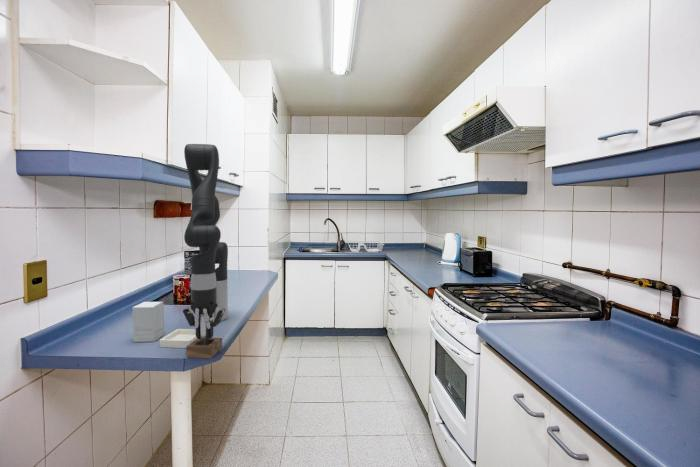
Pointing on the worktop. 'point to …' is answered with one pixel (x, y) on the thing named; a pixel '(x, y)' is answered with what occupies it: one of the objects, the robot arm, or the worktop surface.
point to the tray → (178, 338)
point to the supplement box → (148, 321)
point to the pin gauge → (203, 331)
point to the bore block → (203, 348)
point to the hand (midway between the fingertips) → (204, 338)
